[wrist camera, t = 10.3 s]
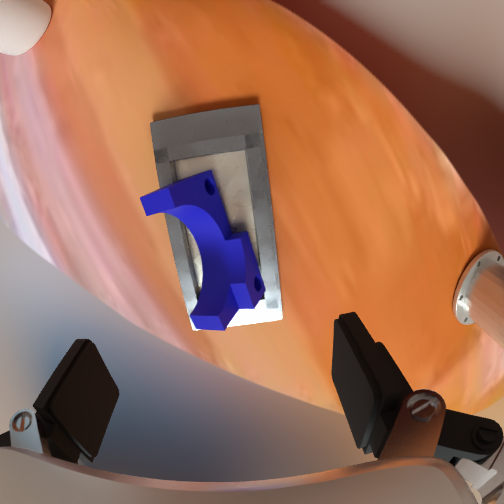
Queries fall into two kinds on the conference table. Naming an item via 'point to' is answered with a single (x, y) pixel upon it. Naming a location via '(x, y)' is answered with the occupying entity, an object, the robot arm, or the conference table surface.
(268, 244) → the grey rectangular tray
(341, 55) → the conference table surface
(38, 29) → the pill bottle
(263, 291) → the cable clip
